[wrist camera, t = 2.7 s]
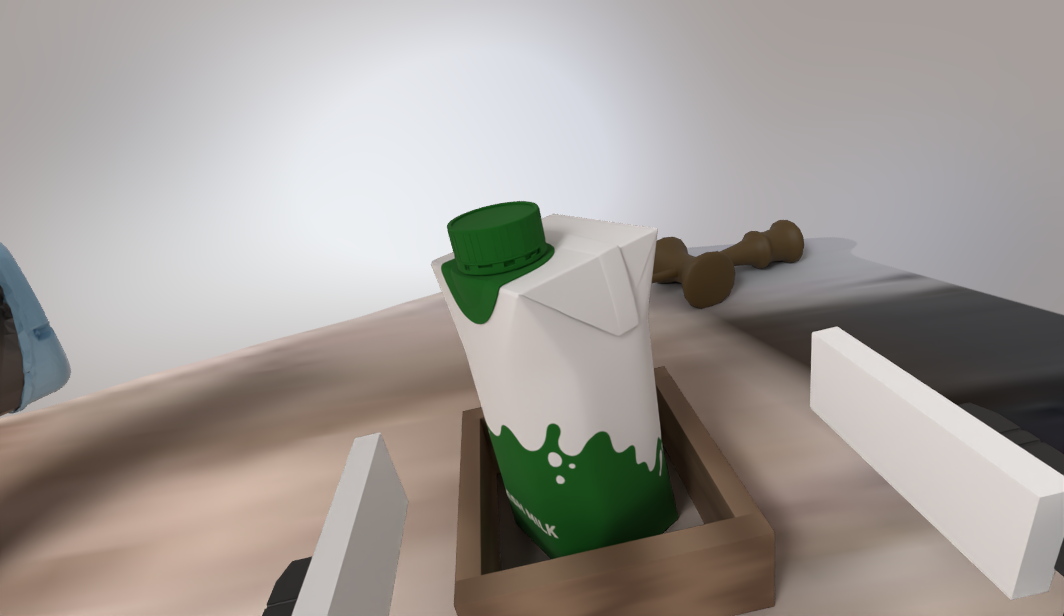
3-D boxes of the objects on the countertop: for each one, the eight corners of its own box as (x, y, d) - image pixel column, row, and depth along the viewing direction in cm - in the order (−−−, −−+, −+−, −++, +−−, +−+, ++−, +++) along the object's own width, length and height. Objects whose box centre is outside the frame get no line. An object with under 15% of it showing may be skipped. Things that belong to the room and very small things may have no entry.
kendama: (823, 275, 55) (658, 325, 51) (762, 254, 63) (617, 296, 59) (826, 222, 52) (653, 270, 48) (762, 208, 61) (611, 247, 57)
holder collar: (481, 673, 24) (454, 605, 22) (479, 465, 37) (462, 411, 35) (774, 606, 24) (774, 532, 22) (669, 423, 37) (664, 366, 35)
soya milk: (496, 525, 32) (401, 222, 24) (599, 449, 36) (549, 171, 28) (590, 625, 25) (502, 248, 17) (703, 517, 29) (678, 175, 21)
